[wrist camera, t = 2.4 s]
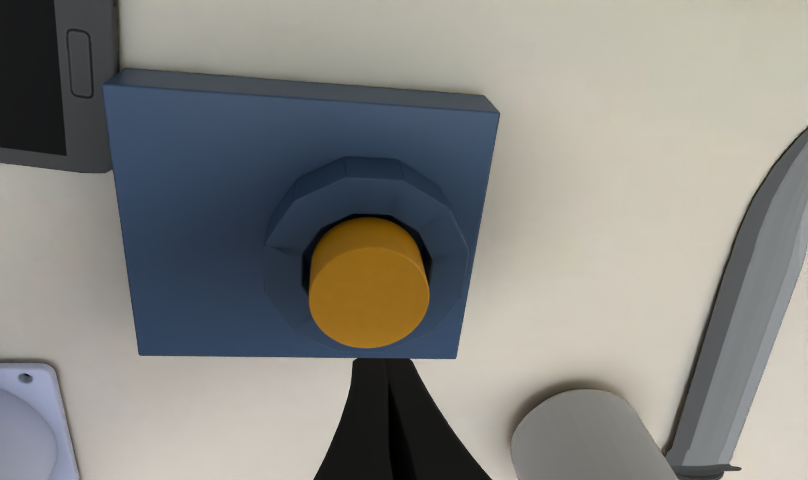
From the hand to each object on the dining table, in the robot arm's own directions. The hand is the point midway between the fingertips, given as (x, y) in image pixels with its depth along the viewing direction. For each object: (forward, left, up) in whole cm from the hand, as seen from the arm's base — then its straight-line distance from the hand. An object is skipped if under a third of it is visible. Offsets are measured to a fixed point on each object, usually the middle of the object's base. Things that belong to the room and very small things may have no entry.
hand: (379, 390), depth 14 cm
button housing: (-2, 0, -9) cm, 10 cm away
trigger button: (0, 0, -6) cm, 6 cm away
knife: (+18, -9, -10) cm, 22 cm away
